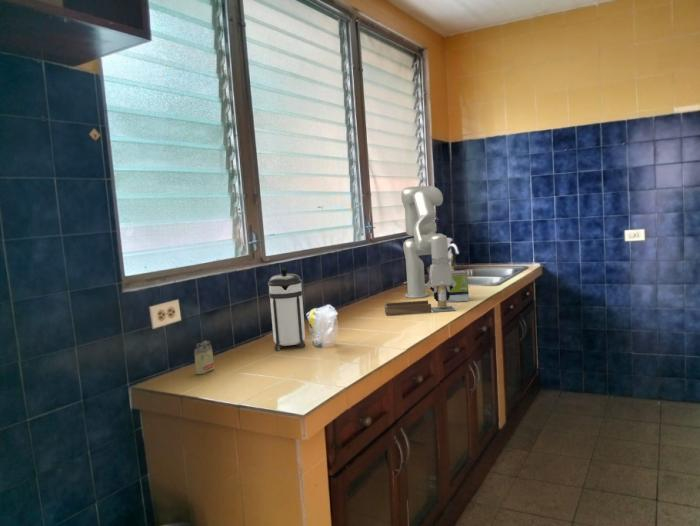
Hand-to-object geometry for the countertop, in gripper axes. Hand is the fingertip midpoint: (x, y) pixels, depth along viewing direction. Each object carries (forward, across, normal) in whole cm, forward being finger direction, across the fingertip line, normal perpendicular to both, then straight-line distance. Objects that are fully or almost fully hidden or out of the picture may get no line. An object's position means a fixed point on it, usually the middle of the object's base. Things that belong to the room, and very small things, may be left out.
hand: (442, 299), depth 258 cm
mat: (+5, 0, 0) cm, 5 cm away
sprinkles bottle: (+4, 0, 0) cm, 4 cm away
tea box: (+5, -9, -22) cm, 24 cm away
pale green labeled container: (+5, +92, +76) cm, 120 cm away
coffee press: (+5, +67, +48) cm, 83 cm away
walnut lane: (+5, +16, 0) cm, 17 cm away
